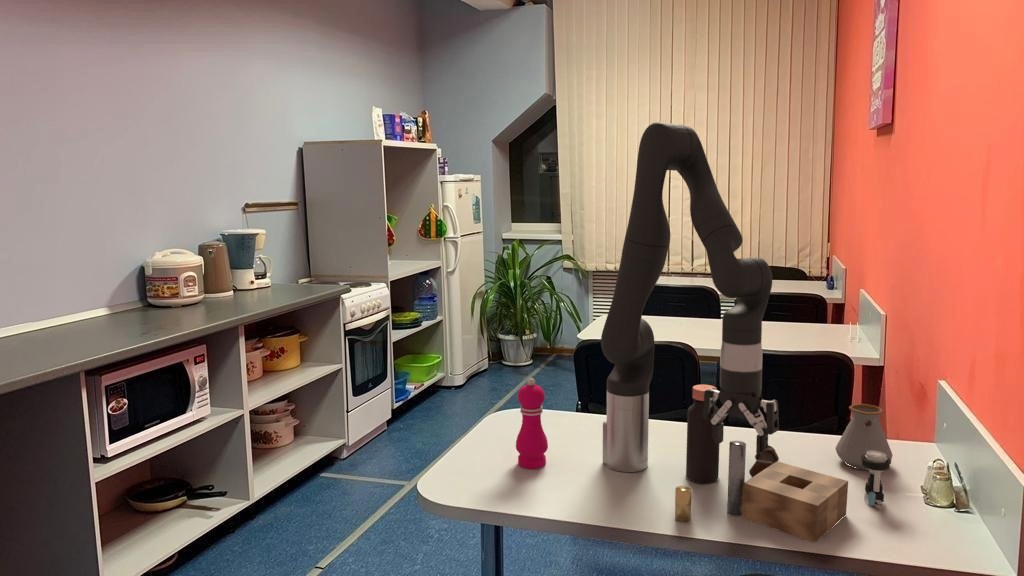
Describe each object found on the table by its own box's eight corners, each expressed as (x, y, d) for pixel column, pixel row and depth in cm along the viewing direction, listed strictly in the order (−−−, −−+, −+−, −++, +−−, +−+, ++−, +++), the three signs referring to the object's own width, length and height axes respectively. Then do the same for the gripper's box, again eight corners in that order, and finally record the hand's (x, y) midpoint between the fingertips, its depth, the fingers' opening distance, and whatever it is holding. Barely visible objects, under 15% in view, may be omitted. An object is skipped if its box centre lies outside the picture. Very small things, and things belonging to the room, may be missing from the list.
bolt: (770, 467, 170) (766, 492, 157) (751, 454, 172) (745, 477, 158) (785, 447, 169) (782, 471, 155) (765, 434, 170) (760, 456, 156)
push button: (894, 512, 144) (897, 462, 142) (864, 510, 145) (868, 461, 143) (883, 496, 151) (886, 449, 149) (854, 495, 151) (858, 448, 150)
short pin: (671, 519, 142) (672, 489, 141) (680, 513, 145) (681, 484, 144) (685, 524, 140) (686, 494, 139) (694, 518, 142) (694, 488, 142)
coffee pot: (835, 451, 174) (838, 388, 172) (890, 458, 170) (894, 394, 167) (833, 487, 155) (837, 418, 153) (895, 496, 151) (901, 425, 148)
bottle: (724, 477, 161) (727, 387, 158) (708, 487, 156) (711, 394, 153) (695, 468, 165) (698, 381, 162) (679, 478, 160) (682, 388, 157)
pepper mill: (531, 473, 164) (530, 384, 161) (509, 463, 170) (508, 378, 166) (554, 464, 169) (554, 378, 166) (532, 455, 174) (532, 371, 171)
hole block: (742, 517, 143) (743, 482, 141) (775, 494, 152) (777, 461, 151) (815, 542, 133) (817, 505, 132) (846, 515, 143) (848, 481, 142)
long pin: (724, 512, 145) (726, 443, 142) (731, 507, 147) (734, 439, 144) (738, 517, 143) (741, 447, 140) (746, 512, 145) (748, 443, 142)
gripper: (786, 366, 138) (784, 451, 140) (716, 355, 147) (715, 434, 150) (768, 375, 132) (766, 463, 135) (696, 362, 142) (695, 444, 145)
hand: (739, 447), depth 142 cm, fingers open, 8 cm apart
